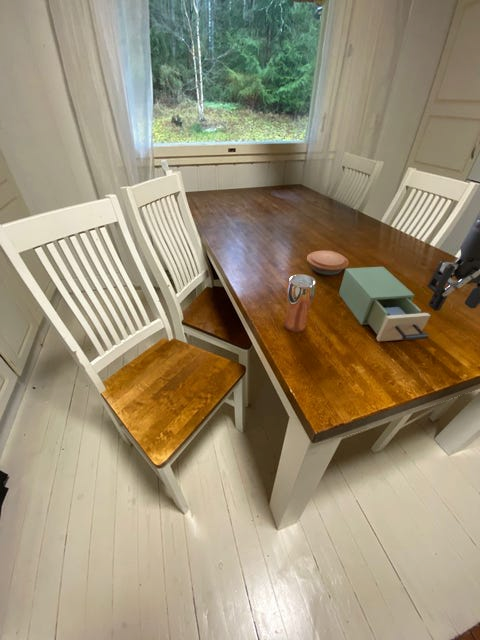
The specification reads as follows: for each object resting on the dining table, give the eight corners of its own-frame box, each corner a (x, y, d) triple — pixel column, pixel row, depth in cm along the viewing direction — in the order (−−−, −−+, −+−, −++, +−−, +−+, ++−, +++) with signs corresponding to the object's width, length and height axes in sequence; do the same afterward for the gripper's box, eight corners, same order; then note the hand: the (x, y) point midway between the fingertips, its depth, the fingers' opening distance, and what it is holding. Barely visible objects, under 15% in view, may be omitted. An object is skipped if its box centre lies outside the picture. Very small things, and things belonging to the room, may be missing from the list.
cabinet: (401, 322, 81) (414, 295, 75) (361, 325, 79) (371, 297, 73) (373, 291, 93) (383, 266, 87) (338, 293, 92) (345, 268, 86)
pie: (348, 280, 99) (351, 267, 96) (305, 275, 102) (307, 263, 98) (344, 261, 111) (347, 249, 108) (305, 257, 113) (307, 246, 110)
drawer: (429, 351, 70) (444, 328, 65) (388, 354, 69) (399, 331, 64) (387, 305, 86) (396, 283, 81) (352, 307, 85) (359, 285, 80)
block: (402, 329, 75) (409, 316, 72) (386, 331, 74) (393, 318, 71) (393, 319, 78) (399, 306, 75) (378, 320, 78) (383, 307, 75)
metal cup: (279, 319, 81) (284, 275, 72) (300, 316, 82) (308, 272, 73) (288, 334, 76) (295, 289, 66) (311, 330, 77) (321, 285, 68)
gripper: (478, 239, 43) (431, 321, 53) (558, 235, 44) (498, 316, 54) (444, 223, 48) (408, 299, 59) (516, 220, 50) (469, 295, 60)
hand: (451, 307), depth 56 cm, fingers open, 7 cm apart
